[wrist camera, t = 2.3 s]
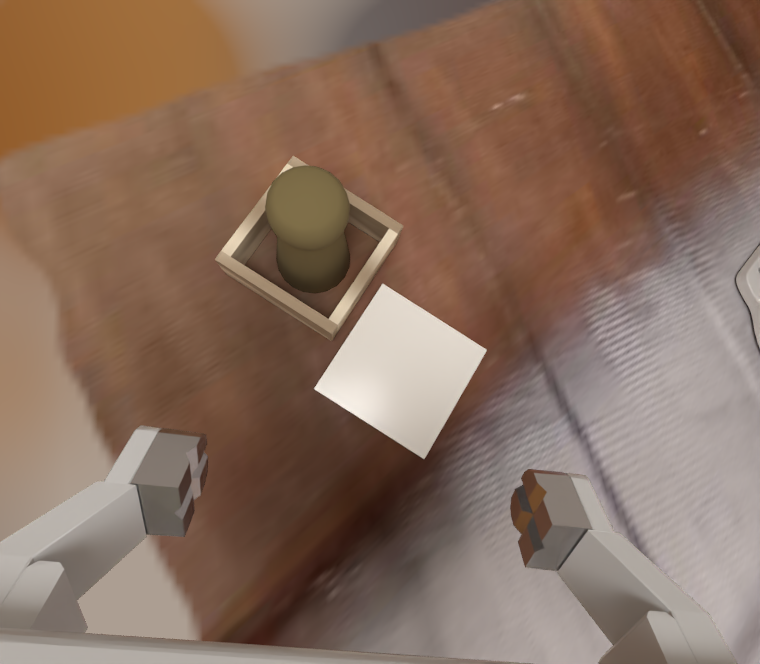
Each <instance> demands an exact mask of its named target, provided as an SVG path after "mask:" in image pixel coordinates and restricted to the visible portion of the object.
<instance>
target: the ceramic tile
mask: <svg viewBox="0 0 760 664" xmlns="http://www.w3.org/2000/svg"><path fill="white" fill-rule="evenodd" d="M486 351H487V350H486V349H485V348H483V347H482V346H480V345H478V344H477V343H475V342H474V341H472V340H471V339H469V338H467V337H466V336H464V335H463V334H461V333H460V332H458V331H456V330H455V329H453V328H452V327H450V326H449V325H447V324H445V323H444V322H442V321H441V320H439V319H438V318H436V317H434V316H433V315H431V314H430V313H428V312H427V311H425V310H423V309H422V308H420V307H419V306H417V305H416V304H414V303H412V302H411V301H409V300H408V299H406V298H405V297H403V296H401V295H400V294H398V293H397V292H395V291H394V290H392V289H390V288H389V287H387V286H386V285H384V284H382V285H381V287H380V288H379V290H378V292H377V293H376V295H375V296H374V298H373V299H372V301H371V302H370V304H369V305H368V307H367V308H366V310H365V311H364V313H363V314H362V316H361V318H360V319H359V321H358V322H357V324H356V325H355V327H354V328H353V330H352V331H351V333H350V334H349V336H348V337H347V339H346V341H345V342H344V344H343V345H342V347H341V348H340V350H339V351H338V353H337V354H336V356H335V357H334V359H333V360H332V362H331V363H330V365H329V367H328V368H327V370H326V371H325V373H324V374H323V376H322V377H321V379H320V380H319V382H318V383H317V385H316V386H315V388H314V390H316V391H318V392H319V393H321V394H322V395H324V396H325V397H327V398H328V399H330V400H332V401H333V402H335V403H336V404H338V405H339V406H341V407H343V408H344V409H346V410H347V411H349V412H350V413H352V414H354V415H355V416H357V417H358V418H360V419H361V420H363V421H365V422H366V423H368V424H369V425H371V426H372V427H374V428H376V429H377V430H379V431H380V432H382V433H383V434H385V435H387V436H388V437H390V438H391V439H393V440H394V441H396V442H398V443H399V444H401V445H402V446H404V447H405V448H407V449H409V450H410V451H412V452H413V453H415V454H416V455H418V456H420V457H421V458H423V459H425V457H426V456H427V454H428V452H429V450H430V449H431V447H432V445H433V443H434V442H435V440H436V438H437V436H438V435H439V433H440V431H441V429H442V428H443V426H444V424H445V422H446V421H447V419H448V417H449V415H450V414H451V412H452V410H453V409H454V407H455V405H456V403H457V402H458V400H459V398H460V396H461V395H462V393H463V391H464V389H465V388H466V386H467V384H468V382H469V381H470V379H471V377H472V375H473V374H474V372H475V370H476V368H477V367H478V365H479V363H480V361H481V360H482V358H483V356H484V354H485V353H486Z"/></svg>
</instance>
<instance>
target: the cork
mask: <svg viewBox="0 0 760 664" xmlns="http://www.w3.org/2000/svg"><path fill="white" fill-rule="evenodd" d="M265 210H266V215H267V219H268V222H269V225H270V226H271V228H272V230H273V231H274V233H275V235H276V236H277V258H276V259H277V264H278V269H279V271H280V273H281V275H282V276H283V278H284V280H285V281H286V282H288V283H289V284H290V285H291V286H292V287H294V288H296V289H298V290H300V291H303V292H309V293H319V292H324V291H328V290H330V289H331V288H333V287H335V286H337V285H338V284H339V283H340V282H341V281H342V280H343V278H344V277H345V275H346V273H347V271H348V269H349V264H350V253H349V249H348V245H347V241H346V237H345V234H344V230H345V228H346V225H347V223H348V220H349V210H350V204H349V200H348V196H347V193H346V191H345V189H344V187H343V186H342V184H341V182H340V181H339V180H338V179H337V178H336V177H335V176H334V175H333V174H331V173H330V172H328V171H326V170H324V169H322V168H319V167H315V166H307V165H304V166H298V167H293V168H291V169H289V170H286V171H284V172H282V173H281V174H280V175H279V176H278V177H277V178H276V179H275V180H274V181H273V182H272V184H271V186H270V188H269V190H268V192H267V197H266V205H265Z"/></svg>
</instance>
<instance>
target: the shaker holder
mask: <svg viewBox="0 0 760 664" xmlns="http://www.w3.org/2000/svg"><path fill="white" fill-rule="evenodd" d="M304 165H307V164H305V163H304V162H302V161H301V160H299V159H298V158H296V157H294V156H293V157H292V158H291V159H290V161H289V162H288V163H287V165H286V166H285V167H284V169H283V170H282V171H281V173H282V172H284V171H286V170H289V169H291V168H293V167H298V166H304ZM307 166H309V165H307ZM281 173H280V174H281ZM280 174H279V175H280ZM279 175H278V176H279ZM269 188H270V187H269ZM269 188H268V190H269ZM344 189H345V188H344ZM268 190H267V191H266V192H265V194H264V195H263V196H262V198H261V199H260V200H259V202H258V203H257V204H256V206H255V207H254V208H253V210H252V211H251V212H250V214H249V215H248V216H247V217H246V219H245V220H244V221H243V223H242V224H241V225H240V227H239V228H238V229H237V231H236V232H235V233H234V235H233V236H232V237H231V239H230V240H229V241H228V243H227V244H226V245H225V247H224V248H223V249H222V251H221V252H220V253H219V254H218V256H217V257H216V258H215V260H216V262H217V263H218V264H219V266H220V267H221V268H222V270H223V271H224V272H225V273H226V274H227V275H228V276H230V277H232V278H233V279H235V280H236V281H238V282H239V283H241V284H243V285H244V286H246V287H247V288H249V289H250V290H252V291H254V292H255V293H257V294H258V295H260V296H261V297H263V298H265V299H266V300H268V301H269V302H271V303H272V304H274V305H276V306H277V307H279V308H280V309H282V310H283V311H285V312H287V313H288V314H290V315H291V316H293V317H294V318H296V319H298V320H299V321H301V322H302V323H304V324H305V325H307V326H309V327H310V328H312V329H313V330H315V331H316V332H318V333H320V334H321V335H323V336H324V337H326V338H327V339H329V340H331V341H332V340H333V339H334V337H335V336H336V334H337V333H338V331H339V329H340V328H341V326H342V325H343V323H344V322H345V320H346V319H347V317H348V316H349V314H350V313H351V311H352V310H353V308H354V307H355V305H356V304H357V302H358V301H359V299H360V298H361V296H362V295H363V293H364V292H365V290H366V289H367V287H368V286H369V284H370V283H371V281H372V280H373V278H374V276H375V275H376V273H377V272H378V270H379V269H380V267H381V266H382V264H383V263H384V261H385V260H386V258H387V257H388V255H389V254H390V252H391V251H392V249H393V248H394V246H395V245H396V243H397V241H398V239H399V236H400V233H401V231H402V228H403V225H401V224H400V223H398V222H397V221H395V220H393V219H392V218H390V217H389V216H387V215H386V214H384V213H382V212H381V211H379V210H378V209H376V208H375V207H373V206H371V205H370V204H368V203H367V202H365V201H364V200H362V199H360V198H359V197H357V196H356V195H354V194H353V193H351V192H349V191H348V190H346V189H345V191H346V193H347V196H348V200H349V204H350V210H349V220H348V222H349V223H351V224H352V225H354V226H355V227H357V228H358V229H360V230H362V231H363V232H365V233H366V234H368V235H369V236H371V237H373V238H374V239H376V240H377V241H379V242H380V243H379V245H378V246H377V248H376V249H375V251H374V252H373V254H372V255H371V256H370V258H369V259H368V261H367V262H366V264H365V265H364V267H363V268H362V270H361V271H360V273H359V274H358V276H357V277H356V279H355V280H354V282H353V283H352V285H351V286H350V288H349V289H348V291H347V292H346V294H345V295H344V297H343V298H342V300H341V301H340V303H339V304H338V306H337V307H336V309H335V310H334V312H333V313H332V315H331V316H330V318H329V319H328V318H326V317H325V316H323V315H321V314H320V313H318V312H317V311H315V310H314V309H312V308H310V307H309V306H307V305H306V304H304V303H303V302H301V301H299V300H298V299H296V298H295V297H293V296H292V295H290V294H288V293H287V292H285V291H284V290H282V289H281V288H279V287H277V286H276V285H274V284H273V283H271V282H270V281H268V280H266V279H265V278H263V277H262V276H260V275H259V274H257V273H255V272H254V271H252V270H251V269H249V268H248V267H246V266H245V264H246V262H247V261H248V260H249V258H250V257H251V256H252V254H253V253H254V251H255V250H256V249H257V247H258V246H259V245H260V243H261V242H262V241H263V239H264V238H265V237H266V235H267V234H268V233H269V231H270V230H271V226H270V225H269V222H268V219H267V215H266V210H265V205H266V197H267V192H268Z"/></svg>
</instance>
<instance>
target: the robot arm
mask: <svg viewBox="0 0 760 664" xmlns="http://www.w3.org/2000/svg"><path fill="white" fill-rule="evenodd" d="M736 282H737V286H738V289H739V291H740V293H741V295H742V297H743V298H744V300H745V302H746V304H747V305H748V307H749V309H750V311H751V315H752V319H753V325H754V330H755V335H756V339H757V342H758V345H759V348H760V245H759V246H758V248H757V249H756V250H755V252H754V253H753V254H752V256H751V257H750V258H749V259H748V261H747V262H746V263H745V265H744V266H743V267H742V269H741V270H740V271H739V273H738V274H737V278H736ZM206 445H207V438H206V434H203V433H196V432H188V431H181V430H174V429H166V428H157V427H149V426H140V427H138V428H137V429H136V430H135V431H134V433H133V434H132V436H131V438H130V439H129V441H128V443H127V444H126V446H125V447H124V449H123V451H122V452H121V454H120V456H119V457H118V459H117V461H116V462H115V464H114V465H113V467H112V469H111V470H110V472H109V474H108V475H107V477H106V479H105V480H104V482H103V481H96V482H95V483H93V484H91V485H90V486H88V487H87V488H85V489H84V490H82V491H80V492H79V493H78V494H76V495H74V496H72V497H71V498H69V499H68V500H66V501H64V502H63V503H61V504H60V505H58V506H57V507H55V508H53V509H52V510H50V511H49V512H47V513H46V514H44V515H42V516H41V517H39V518H37V519H36V520H34V521H33V522H32V523H30V524H28V525H26V526H25V527H23V528H22V529H20V530H19V531H17V532H15V533H14V534H12V535H10V536H9V537H7V538H6V539H4V540H3V541H1V542H0V664H531V663H516V662H502V661H487V660H473V659H458V658H444V657H429V656H414V655H400V654H385V653H371V652H356V651H341V650H327V649H312V648H298V647H283V646H268V645H253V644H239V643H224V642H209V641H194V640H179V639H165V638H150V637H136V636H121V635H106V634H91V633H85V632H86V630H87V628H88V627H87V624H86V621H85V619H84V616H83V614H82V612H81V609H80V607H79V604H78V602H77V600H78V599H79V598H80V597H81V596H82V595H84V594H85V593H86V592H87V591H88V590H89V589H90V588H91V587H92V586H93V585H94V584H96V583H97V582H98V581H99V580H100V579H101V578H102V577H103V576H104V575H105V574H107V573H108V572H109V571H110V570H111V569H112V568H113V567H114V566H115V565H116V564H117V563H119V562H120V561H121V560H122V558H124V557H125V556H126V555H127V554H128V553H129V552H130V551H132V549H134V548H135V547H136V546H137V545H138V544H139V543H140V542H142V541H143V540H144V539H145V538H146V537H147V535H146V534H148V535H164V536H180V537H185V535H186V532H187V530H188V527H189V524H190V522H191V519H192V517H193V514H194V511H195V510H194V500H195V499H196V498H197V497H199V496H200V495H201V493H202V490H203V487H204V485H205V481H206V476H207V472H208V456H207V455H206V454H205V453H204V450H205V448H206ZM521 479H522V482H523V485H522V486H520V487H518V488H516V489H515V491H514V493H513V496H512V498H511V507H510V509H511V517H512V521H513V525H514V526H515V528H516V529H517V530H518V531H519V532H520V533H521V534H522V535H521V537H520V539H519V541H518V543H519V547H520V550H521V554H522V558H523V561H524V565H525V567H527V568H536V569H544V570H553V571H558V572H557V573H558V575H559V576H560V577H561V579H562V580H563V581H564V582H565V584H566V585H567V586H568V588H569V589H570V590H571V591H572V593H573V594H574V595H575V597H576V598H577V599H578V600H579V602H580V603H581V604H582V606H583V607H584V608H585V610H586V611H587V612H588V613H589V615H590V616H591V617H592V619H593V620H594V621H595V622H596V624H597V625H598V626H599V628H600V629H601V630H602V631H603V633H604V634H605V635H606V637H607V638H608V639H609V641H610V642H611V643H612V644H613V646H612V647H611V648H610V649H609V650H608V651H607V652H606V653H605V654H604V655H603V656H602V657H601V659H600V661H599V662H598V663H599V664H737V662H736V660H735V659H734V657H733V655H732V653H731V651H730V650H729V648H728V646H727V644H726V643H725V641H724V639H723V637H722V636H721V634H720V632H719V630H718V628H717V627H716V625H715V623H714V621H713V620H712V618H711V616H710V614H709V613H707V612H706V611H705V610H704V609H703V608H702V607H701V606H700V605H699V604H698V603H696V602H695V601H694V600H693V599H692V598H691V597H690V596H689V595H688V594H687V593H685V592H684V591H683V590H682V589H681V588H680V587H679V586H678V585H677V584H676V583H674V582H673V581H672V580H671V579H670V578H669V577H668V576H667V575H666V574H665V573H663V572H662V571H661V570H660V569H659V568H658V567H657V566H656V565H655V564H654V563H652V562H651V561H650V560H649V559H648V558H647V557H646V556H645V555H644V554H642V553H641V552H640V551H639V550H638V549H637V548H636V547H635V546H634V545H633V544H631V543H630V542H629V541H628V540H627V539H626V538H625V537H624V536H623V535H622V534H620V533H617V532H614V531H613V529H612V526H611V524H610V522H609V520H608V518H607V516H606V514H605V512H604V510H603V508H602V506H601V503H600V501H599V499H598V497H597V495H596V493H595V491H594V489H593V487H592V485H591V482H590V480H589V479H588V478H587V477H586V476H585V475H580V474H570V473H563V472H554V471H543V470H533V469H528V470H527V471H525V472H524V474H523V476H522V478H521Z"/></svg>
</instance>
